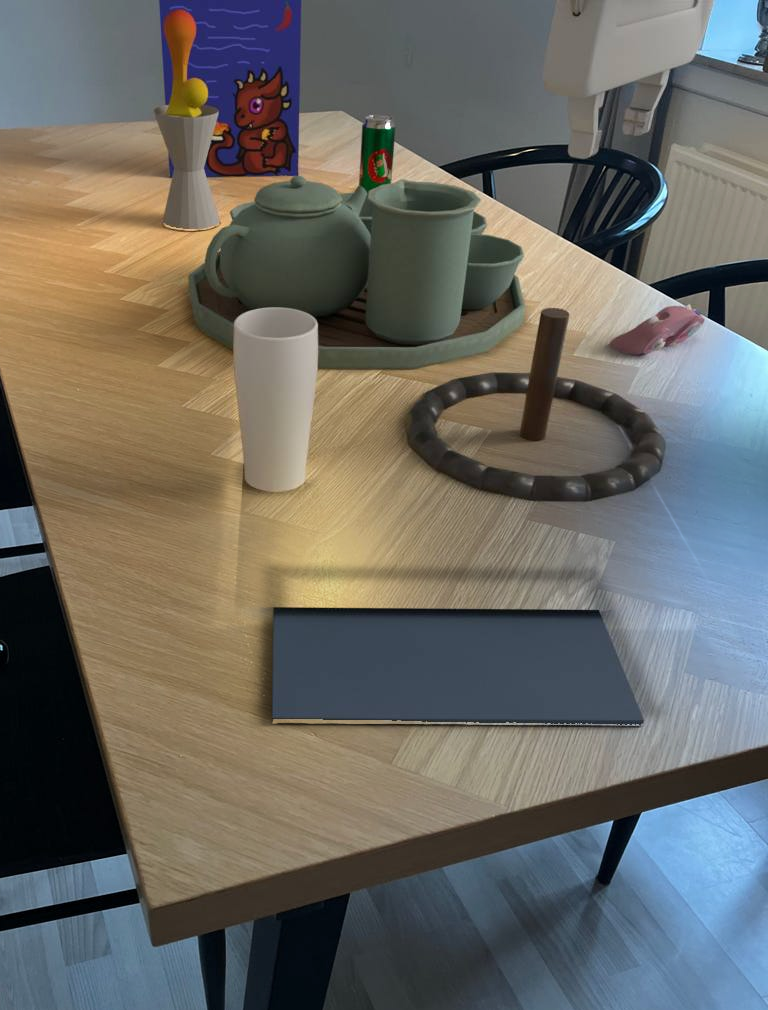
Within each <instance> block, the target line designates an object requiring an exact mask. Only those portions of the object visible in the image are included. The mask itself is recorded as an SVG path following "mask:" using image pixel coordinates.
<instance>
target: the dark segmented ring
mask: <svg viewBox="0 0 768 1010" xmlns="http://www.w3.org/2000/svg"><path fill="white" fill-rule="evenodd" d="M529 376H530V372H498V371H497V372H494V371H493V372H487V373H479V374H475V375H469V376H463V377H458V378H453V379H450V380H447V381H446V382H444V383H442V384H440V385H437V386H435V387H434V388H432V389H429V390H428V391H425V392H424V393H422V394H421V395H420V396H419V397H418V399H417V400H416V402H415V403H414V405H413V406H412V407H411V408H410V410H409V412H408V413H406V416H405V418H404V421H403V422H404V423H403V425H404V431H405V434H406V438H407V444H408V447H409V448H410V449H411V450H412V451H413V452H414V453H416V454H417V456H418V457H420V459H422V460H423V461H424V462H425V463H426V464H427V465H428V466H429V467H430V468H431V469H433V470H434V471H435V472H437V473H440V474H442V475H443V476H446V477H448V478H451V479H453V480H455V481H457V482H460V483H462V484H464V485H466V486H468V487H470V488H473V489H475V490H477V491H482V492H487V493H492V494H496V495H500V496H501V495H502V496H505V497H510V498H514V499H520V500H525V501H529V502H574V503H575V502H577V503H578V502H580V503H581V502H582V503H584V502H591V501H596V500H597V501H598V500H601V499H604V498H610V497H613V496H619V495H622V494H627V493H631V492H633V491H635V490H637V489H639V488H640V487H641V486H643V485H644V484H645V483H647V482H648V481H650V480H651V478H653V477H655V476H656V475H657V474H659V473H660V472H661V469H662V466H663V465H662V464H663V460H664V456H665V452H666V448H667V447H666V440H665V438H664V436H663V434H662V433H661V432H660V430H659V428H658V426H657V425H656V424H655V422H654V421H653V419H652V417H651V416H650V415H649V414H648V413H646V412H645V411H644V410H642V409H641V408H639V407H637V406H636V405H635V404H633V403H631V402H630V401H629V400H627V399H625V398H624V397H622V396H621V395H619V394H617V393H615V392H612V391H610V390H607V389H604V388H601V387H598V386H595V385H592V384H590V383H586V382H584V381H581V380H579V379H572V378H567V377H562V376H561V377H560V376H557V380H556V385H555V390H554V395H553V398H555V399H560V400H566V401H570V402H573V403H575V404H578V405H581V406H584V407H586V408H589V409H592V410H594V411H596V412H599V413H601V414H602V415H604V416H605V417H607V418H608V419H610V420H611V421H612V422H614V423H616V424H617V425H620V426H621V427H623V430H624V431H625V433H626V435H627V437H628V438H629V440H630V442H631V443H632V449H631V452H630V455H629V458H626V459H625V461H622V462H621V463H619V464H618V465H617V466H615V467H613V468H609V469H605V470H601V471H596V472H590V473H586V474H582V475H581V474H580V475H536V474H529V473H525V472H520V471H515V470H510V469H505V468H499V467H495V466H490V465H488V464H485V463H483V462H481V461H479V460H476V459H474V458H472V457H469V456H467V455H465V454H463V453H460V452H458V451H456V450H454V448H452V447H451V446H450V445H449V444H448V443H447V442H445V441H444V440H443V439H442V438H441V437H440V436H439V435H438V431H437V428H436V423H437V422H438V420H439V419H440V417H441V415H443V412H444V411H446V410H447V409H449V408H451V407H453V406H455V405H457V404H459V403H461V402H463V401H465V400H468V399H472V398H478V397H484V396H490V395H495V394H526V393H527V388H528V382H529Z"/></svg>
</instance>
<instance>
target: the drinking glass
mask: <svg viewBox="0 0 768 1010" xmlns="http://www.w3.org/2000/svg"><path fill="white" fill-rule="evenodd" d="M232 353H233V355H232V357H233V359H232V360H233V375H234V385H235V393H236V403H237V410H238V411H237V413H238V422H239V429H240V438H241V447H242V448H241V449H242V458H243V467H244V468H243V469H244V470H243V471H244V480H245V482H246V483H247V484H248V485H249V486H250V487H252V488H254V489H257V490H259V491H263V492H271V493H272V492H273V493H282V492H289V491H291V490H294V489H297V488H299V487H300V486H302V485H303V484H304V483H305V481H306V479H307V465H308V455H309V446H310V439H311V438H310V437H311V430H312V421H313V413H314V405H315V404H314V403H315V398H316V389H317V381H318V369H319V368H318V323H317V320H316V319H315V318H314V317H313V316H311V315H310V314H308V313H306V312H303V311H300V310H296V309H290V308H281V307H269V308H260V309H255V310H251V311H248V312H245V313H243V314H241V315H240V316H238V317H237V318H236V320H235V321H234V337H233V351H232Z"/></svg>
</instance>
